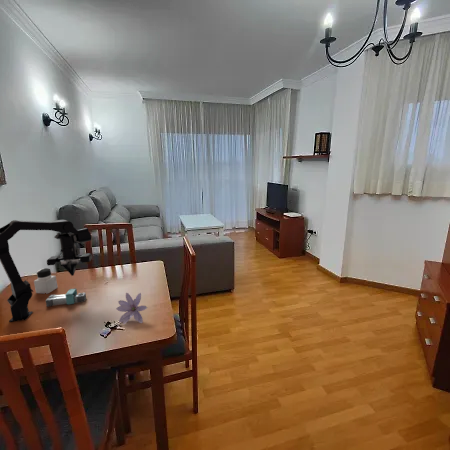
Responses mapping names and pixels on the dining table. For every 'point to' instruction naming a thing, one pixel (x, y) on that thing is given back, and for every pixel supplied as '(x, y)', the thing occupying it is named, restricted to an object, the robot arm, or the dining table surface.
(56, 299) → the tong frame
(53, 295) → the tong arm
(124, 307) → the purple flower
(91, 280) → the dining table surface
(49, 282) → the medicine bottle
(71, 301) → the teal notched block
